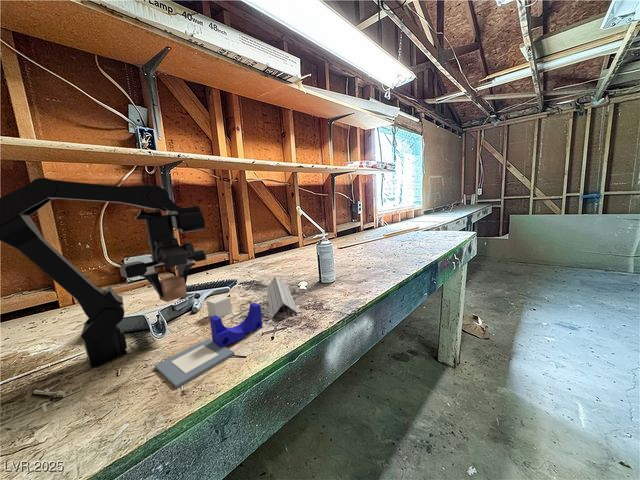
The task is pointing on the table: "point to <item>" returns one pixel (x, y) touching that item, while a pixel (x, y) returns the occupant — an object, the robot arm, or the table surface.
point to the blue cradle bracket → (230, 335)
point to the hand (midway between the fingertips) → (172, 293)
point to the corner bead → (279, 296)
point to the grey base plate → (193, 362)
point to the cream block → (219, 306)
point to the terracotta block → (173, 288)
